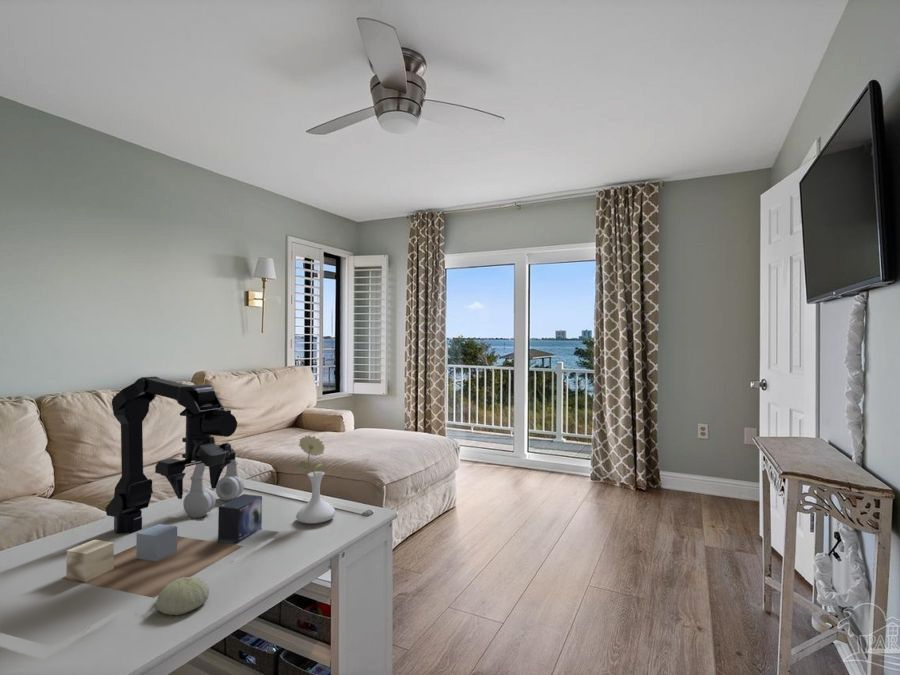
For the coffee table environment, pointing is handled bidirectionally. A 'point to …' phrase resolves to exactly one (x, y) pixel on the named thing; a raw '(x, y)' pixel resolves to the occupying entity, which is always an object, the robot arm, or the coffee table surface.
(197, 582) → the sea urchin shell
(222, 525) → the small box
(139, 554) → the slate cube
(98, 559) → the birch cube
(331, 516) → the flower in vase
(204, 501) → the headphones
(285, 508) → the coffee table surface
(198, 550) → the walnut board
